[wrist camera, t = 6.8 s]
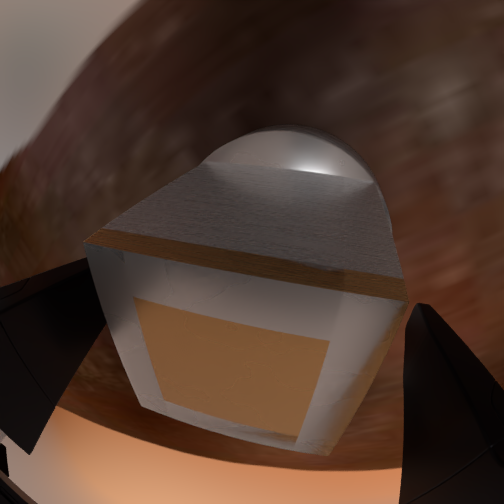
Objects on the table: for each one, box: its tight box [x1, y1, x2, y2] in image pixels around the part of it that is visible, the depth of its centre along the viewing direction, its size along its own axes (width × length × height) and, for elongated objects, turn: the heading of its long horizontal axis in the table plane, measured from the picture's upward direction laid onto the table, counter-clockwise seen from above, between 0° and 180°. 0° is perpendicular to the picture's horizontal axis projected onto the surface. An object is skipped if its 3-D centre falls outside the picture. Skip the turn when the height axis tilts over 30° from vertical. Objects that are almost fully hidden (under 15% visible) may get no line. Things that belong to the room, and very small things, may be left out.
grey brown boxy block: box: [83, 161, 409, 456], centre depth 8 cm, size 6×6×6 cm
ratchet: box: [200, 124, 392, 233], centre depth 14 cm, size 20×8×6 cm, turn 178°
